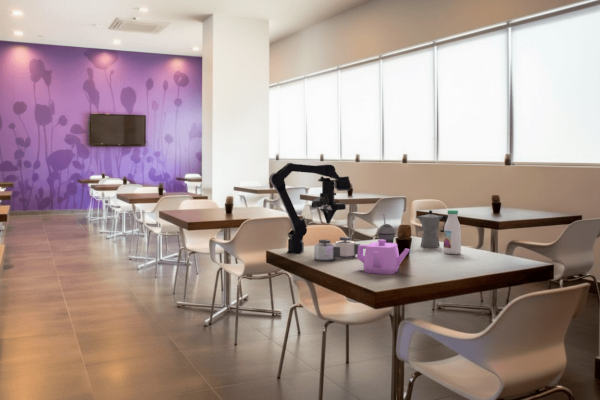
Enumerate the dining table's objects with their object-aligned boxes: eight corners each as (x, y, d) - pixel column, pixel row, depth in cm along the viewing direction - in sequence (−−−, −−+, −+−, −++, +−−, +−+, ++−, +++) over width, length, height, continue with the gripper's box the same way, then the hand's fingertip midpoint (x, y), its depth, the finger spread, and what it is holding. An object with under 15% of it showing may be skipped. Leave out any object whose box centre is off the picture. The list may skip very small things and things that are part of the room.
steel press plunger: (317, 254, 249) (317, 240, 248) (320, 252, 253) (320, 239, 253) (328, 255, 247) (328, 241, 247) (331, 253, 252) (331, 239, 251)
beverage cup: (394, 261, 245) (394, 215, 244) (377, 260, 247) (377, 214, 245) (395, 258, 253) (395, 213, 251) (378, 257, 254) (378, 213, 252)
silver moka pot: (311, 260, 247) (311, 246, 247) (317, 257, 256) (317, 242, 256) (337, 262, 244) (337, 247, 244) (342, 258, 253) (342, 243, 252)
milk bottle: (459, 251, 268) (459, 209, 267) (462, 254, 261) (462, 211, 259) (442, 251, 269) (442, 209, 267) (444, 254, 261) (445, 210, 260)
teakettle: (387, 265, 238) (388, 235, 237) (412, 272, 223) (412, 241, 222) (352, 268, 231) (352, 238, 230) (374, 276, 216) (374, 244, 215)
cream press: (332, 257, 255) (332, 243, 254) (337, 254, 264) (337, 240, 263) (358, 258, 252) (358, 244, 251) (361, 255, 261) (362, 241, 260)
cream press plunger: (338, 251, 256) (338, 238, 256) (340, 249, 261) (340, 236, 260) (349, 252, 255) (349, 238, 254) (351, 250, 259) (351, 237, 259)
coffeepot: (415, 247, 282) (415, 210, 281) (418, 244, 291) (418, 209, 290) (447, 248, 277) (447, 211, 275) (449, 245, 286) (449, 210, 284)
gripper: (302, 190, 274) (302, 223, 275) (328, 192, 259) (328, 226, 260) (320, 189, 280) (320, 221, 282) (346, 191, 266) (346, 224, 267)
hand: (328, 223), depth 273 cm, fingers closed
